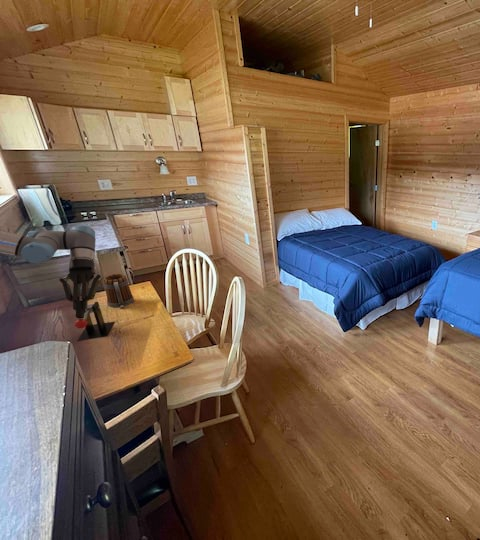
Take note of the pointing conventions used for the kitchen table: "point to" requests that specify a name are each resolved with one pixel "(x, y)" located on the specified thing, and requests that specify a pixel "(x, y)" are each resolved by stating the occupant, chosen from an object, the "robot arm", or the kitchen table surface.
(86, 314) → the lever
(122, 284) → the mug
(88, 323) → the lever base
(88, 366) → the kitchen table surface
